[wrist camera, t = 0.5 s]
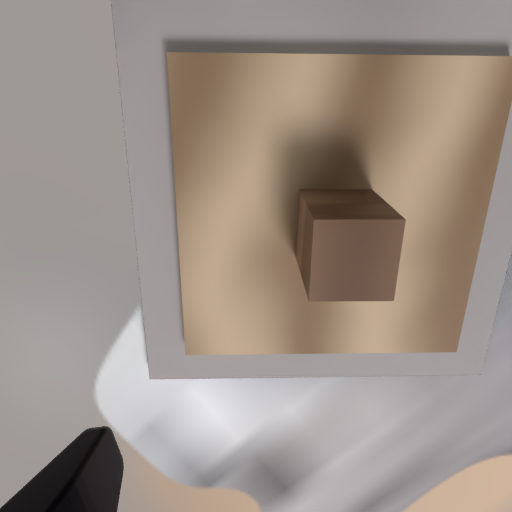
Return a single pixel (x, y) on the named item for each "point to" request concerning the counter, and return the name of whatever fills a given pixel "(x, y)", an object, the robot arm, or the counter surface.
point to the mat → (290, 42)
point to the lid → (332, 197)
